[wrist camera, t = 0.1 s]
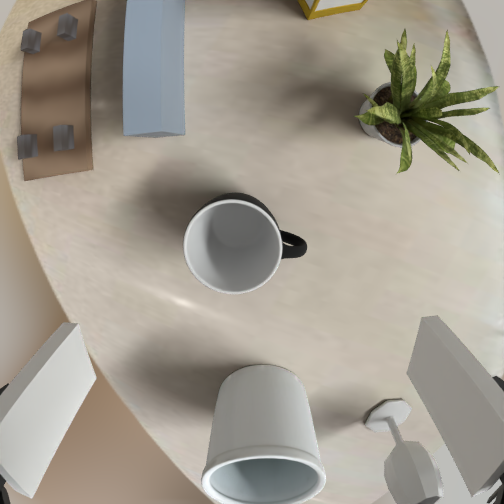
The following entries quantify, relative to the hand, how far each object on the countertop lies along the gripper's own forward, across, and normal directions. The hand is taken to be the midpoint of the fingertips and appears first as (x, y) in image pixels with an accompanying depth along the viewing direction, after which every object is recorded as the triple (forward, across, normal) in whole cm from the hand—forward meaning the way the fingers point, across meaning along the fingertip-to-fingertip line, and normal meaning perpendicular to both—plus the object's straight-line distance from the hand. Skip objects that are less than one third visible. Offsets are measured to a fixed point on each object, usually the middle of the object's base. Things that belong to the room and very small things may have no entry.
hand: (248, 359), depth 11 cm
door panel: (+28, -9, +19) cm, 35 cm away
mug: (+28, 0, -2) cm, 28 cm away
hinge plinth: (+28, -25, +18) cm, 42 cm away
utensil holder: (+28, +1, -29) cm, 40 cm away
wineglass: (+28, +24, -37) cm, 52 cm away
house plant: (+28, +17, +11) cm, 34 cm away
